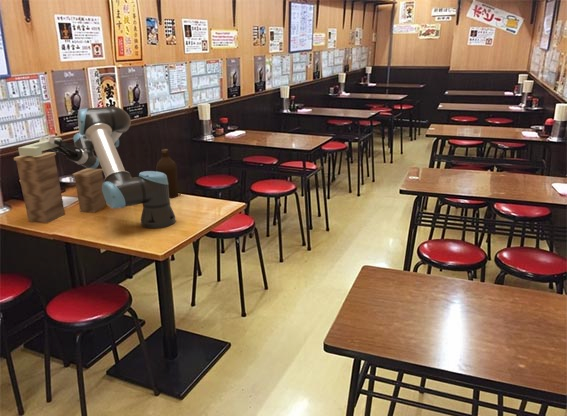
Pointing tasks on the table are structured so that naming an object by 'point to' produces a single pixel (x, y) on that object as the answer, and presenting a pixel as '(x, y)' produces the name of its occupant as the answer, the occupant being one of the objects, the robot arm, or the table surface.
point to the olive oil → (168, 172)
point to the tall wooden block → (40, 187)
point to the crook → (36, 148)
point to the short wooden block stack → (90, 190)
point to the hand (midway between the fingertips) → (44, 139)
